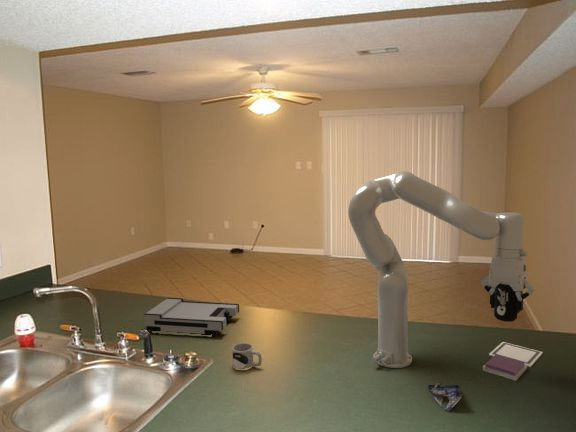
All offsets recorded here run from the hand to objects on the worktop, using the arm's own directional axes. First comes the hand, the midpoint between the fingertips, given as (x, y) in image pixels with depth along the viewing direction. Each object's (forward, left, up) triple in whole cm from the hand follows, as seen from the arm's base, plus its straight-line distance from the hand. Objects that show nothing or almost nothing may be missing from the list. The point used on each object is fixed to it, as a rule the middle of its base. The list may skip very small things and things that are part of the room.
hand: (505, 308), depth 144 cm
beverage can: (0, 0, -3) cm, 3 cm away
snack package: (-28, +6, -20) cm, 35 cm away
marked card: (+13, 0, -20) cm, 24 cm away
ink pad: (0, -1, -20) cm, 20 cm away
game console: (-44, +105, -20) cm, 116 cm away
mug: (-52, +62, -20) cm, 84 cm away
